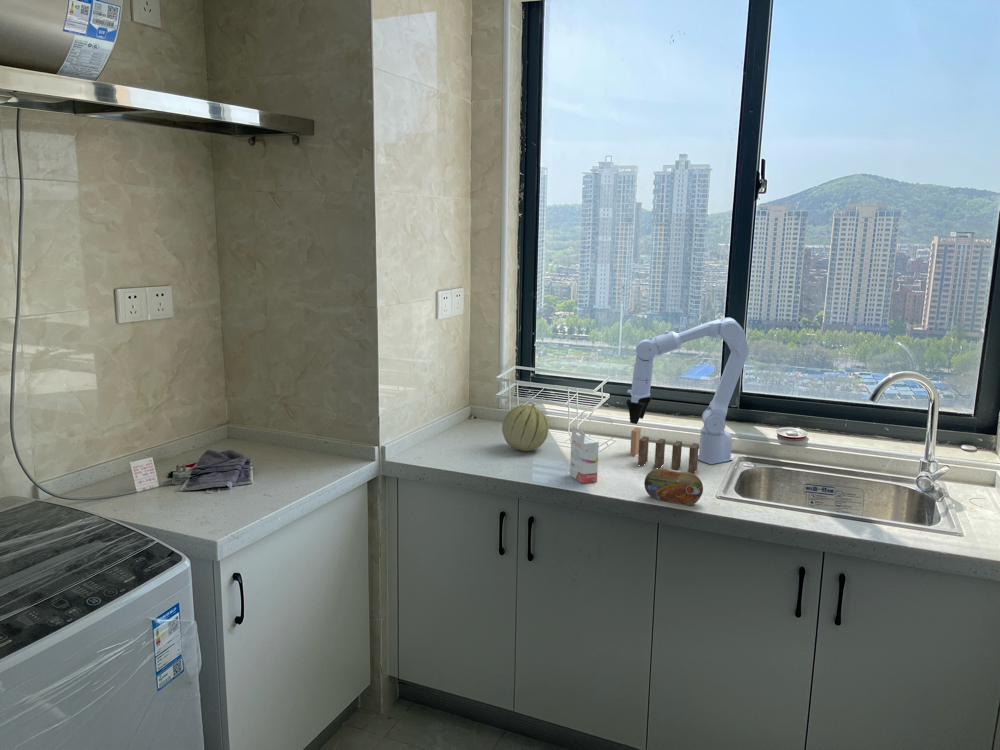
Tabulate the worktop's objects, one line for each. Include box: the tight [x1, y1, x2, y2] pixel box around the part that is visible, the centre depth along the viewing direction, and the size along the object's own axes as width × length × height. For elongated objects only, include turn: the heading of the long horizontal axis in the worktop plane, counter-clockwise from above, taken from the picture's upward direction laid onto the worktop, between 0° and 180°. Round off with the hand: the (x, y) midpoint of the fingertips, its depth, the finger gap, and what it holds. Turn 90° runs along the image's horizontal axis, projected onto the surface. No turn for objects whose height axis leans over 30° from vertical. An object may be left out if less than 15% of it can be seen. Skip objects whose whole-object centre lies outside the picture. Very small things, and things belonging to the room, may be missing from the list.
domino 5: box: [687, 442, 700, 474], centre depth 216 cm, size 2×5×8 cm, turn 154°
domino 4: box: [670, 440, 683, 471], centre depth 218 cm, size 2×5×8 cm, turn 154°
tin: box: [644, 467, 704, 506], centre depth 192 cm, size 15×3×8 cm, turn 62°
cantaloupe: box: [501, 403, 550, 452], centre depth 234 cm, size 15×15×15 cm
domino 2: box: [637, 435, 650, 467], centre depth 222 cm, size 2×5×8 cm, turn 154°
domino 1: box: [629, 427, 642, 457], centre depth 232 cm, size 2×5×8 cm, turn 154°
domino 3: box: [653, 438, 666, 469], centre depth 220 cm, size 2×5×8 cm, turn 154°
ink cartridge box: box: [569, 425, 600, 484], centre depth 208 cm, size 9×5×15 cm, turn 20°
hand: (636, 420), depth 230 cm, fingers open, 7 cm apart
